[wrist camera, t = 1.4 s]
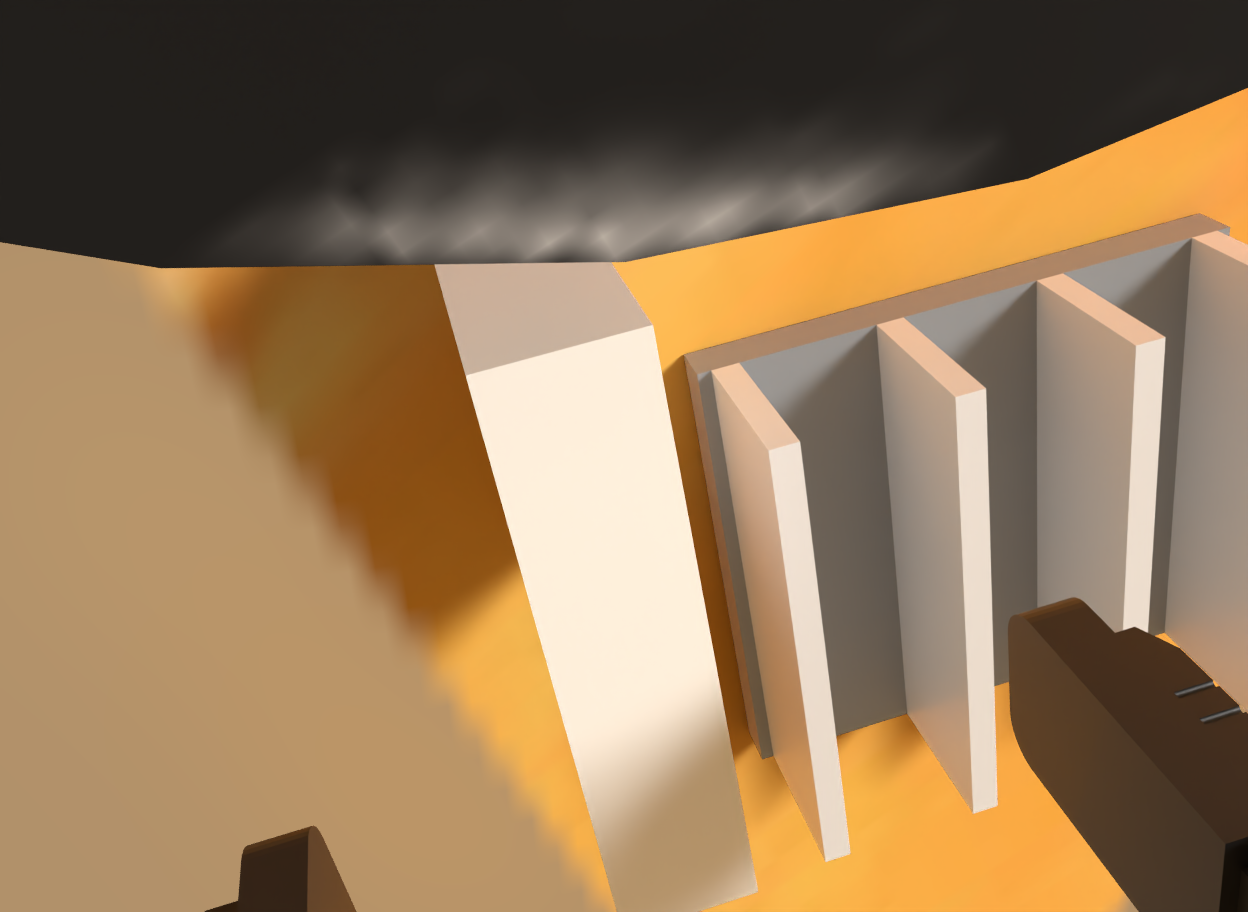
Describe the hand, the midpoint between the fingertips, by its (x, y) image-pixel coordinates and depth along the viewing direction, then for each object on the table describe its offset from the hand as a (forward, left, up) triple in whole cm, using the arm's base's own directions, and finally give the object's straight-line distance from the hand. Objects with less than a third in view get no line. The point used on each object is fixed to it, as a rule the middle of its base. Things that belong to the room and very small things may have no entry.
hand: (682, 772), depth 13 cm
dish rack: (+7, +9, -13) cm, 17 cm away
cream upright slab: (0, 0, -13) cm, 13 cm away
